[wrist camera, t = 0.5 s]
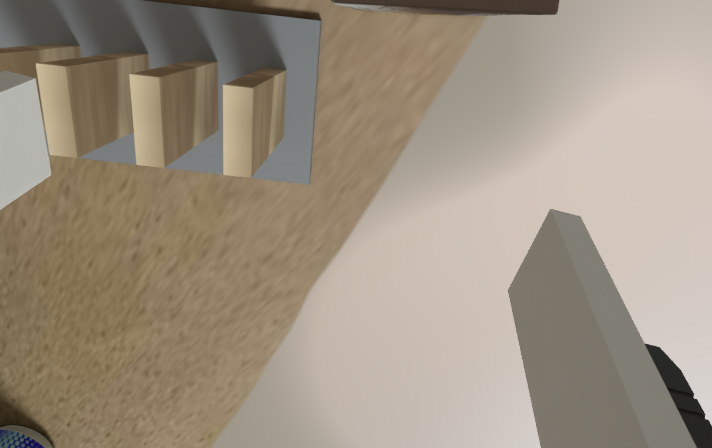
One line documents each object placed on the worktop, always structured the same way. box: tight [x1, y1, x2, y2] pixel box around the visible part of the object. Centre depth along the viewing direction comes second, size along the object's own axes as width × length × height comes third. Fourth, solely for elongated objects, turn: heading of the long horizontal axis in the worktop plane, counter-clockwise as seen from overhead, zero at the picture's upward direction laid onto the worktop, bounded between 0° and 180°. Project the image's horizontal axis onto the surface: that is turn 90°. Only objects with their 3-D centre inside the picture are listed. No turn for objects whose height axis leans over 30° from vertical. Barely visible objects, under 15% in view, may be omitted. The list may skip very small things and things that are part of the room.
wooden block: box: [223, 67, 287, 178], centre depth 31 cm, size 2×5×10 cm, turn 174°
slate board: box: [0, 0, 321, 184], centre depth 36 cm, size 12×28×1 cm, turn 84°
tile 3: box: [36, 51, 150, 158], centre depth 31 cm, size 2×5×10 cm, turn 174°
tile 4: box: [129, 59, 218, 168], centre depth 31 cm, size 2×5×10 cm, turn 174°
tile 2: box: [0, 44, 81, 130], centre depth 31 cm, size 2×5×10 cm, turn 174°
